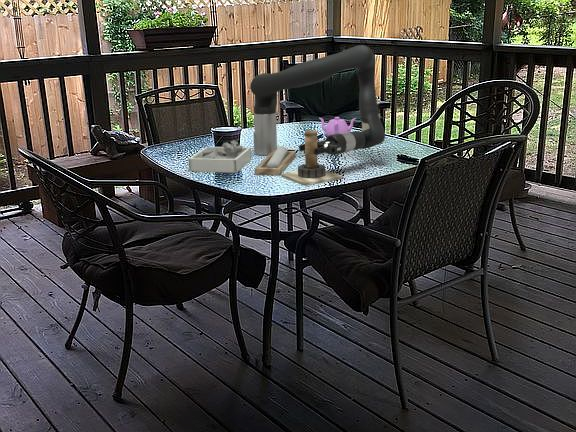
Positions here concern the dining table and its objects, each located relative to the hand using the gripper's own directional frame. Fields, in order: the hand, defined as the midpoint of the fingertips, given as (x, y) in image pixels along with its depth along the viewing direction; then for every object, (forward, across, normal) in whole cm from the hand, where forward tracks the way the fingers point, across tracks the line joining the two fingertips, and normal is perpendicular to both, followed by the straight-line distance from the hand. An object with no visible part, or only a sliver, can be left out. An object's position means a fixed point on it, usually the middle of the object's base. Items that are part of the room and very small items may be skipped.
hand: (307, 150), depth 236 cm
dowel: (-2, 0, +10) cm, 10 cm away
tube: (-5, -24, +11) cm, 27 cm away
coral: (+13, -38, +11) cm, 42 cm away
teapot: (-62, -52, +11) cm, 81 cm away
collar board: (-2, 0, +10) cm, 11 cm away
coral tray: (+12, -40, +10) cm, 43 cm away
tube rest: (-4, -24, +10) cm, 27 cm away
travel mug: (-61, -29, +11) cm, 69 cm away
